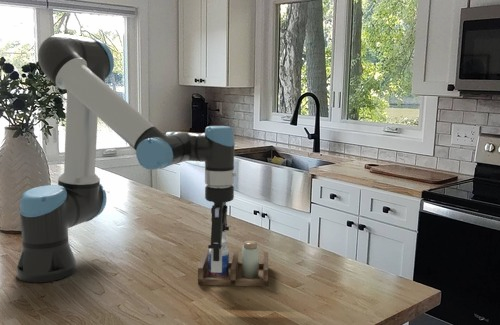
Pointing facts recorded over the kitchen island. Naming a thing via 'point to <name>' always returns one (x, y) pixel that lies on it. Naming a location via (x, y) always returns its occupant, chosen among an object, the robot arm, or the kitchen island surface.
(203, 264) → the rack
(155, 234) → the kitchen island surface
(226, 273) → the pill bottle
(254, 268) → the jar
